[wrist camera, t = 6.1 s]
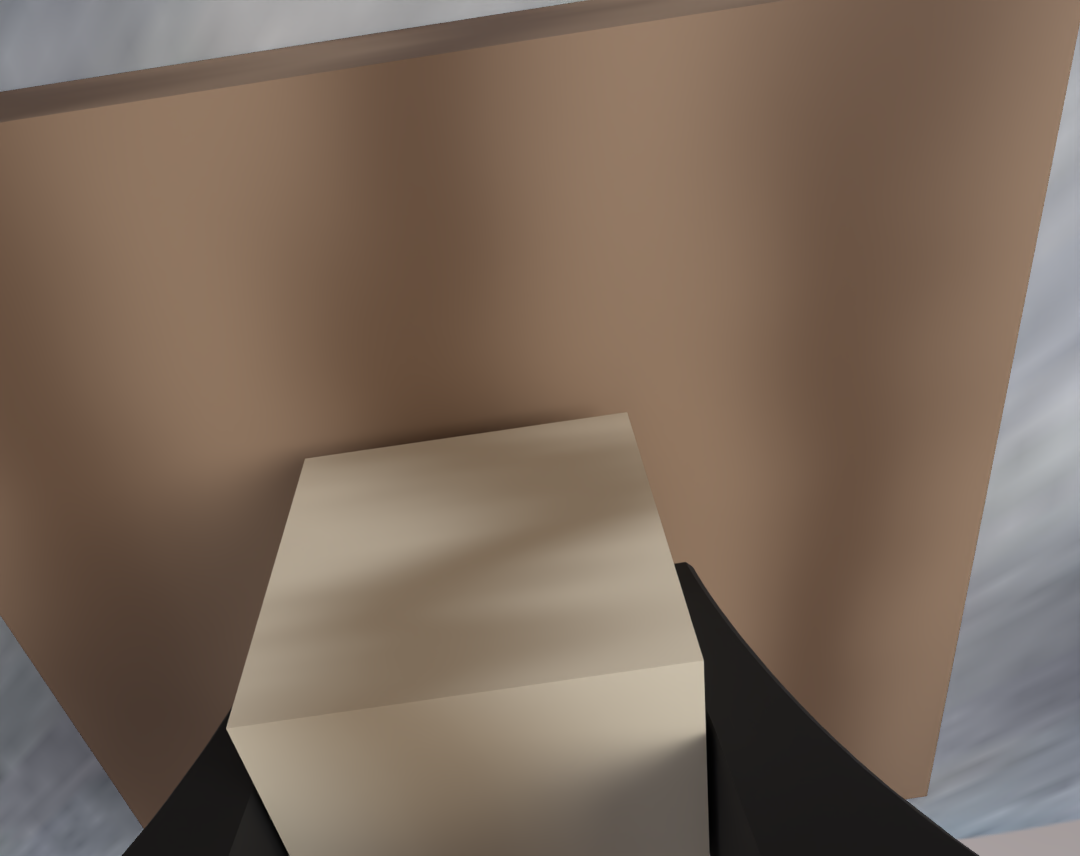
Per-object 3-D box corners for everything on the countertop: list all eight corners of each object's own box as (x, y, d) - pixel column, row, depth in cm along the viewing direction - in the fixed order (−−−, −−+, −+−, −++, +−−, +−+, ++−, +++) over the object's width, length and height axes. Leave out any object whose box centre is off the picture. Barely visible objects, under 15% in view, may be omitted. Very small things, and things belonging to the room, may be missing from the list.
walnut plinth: (973, -60, 13) (1093, -49, 11) (875, 696, 23) (926, 796, 20) (-156, 115, 13) (-300, 169, 11) (224, 793, 23) (194, 904, 21)
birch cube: (627, 411, 13) (703, 661, 9) (645, 640, 16) (711, 915, 11) (305, 459, 13) (226, 728, 9) (378, 678, 16) (345, 967, 11)
